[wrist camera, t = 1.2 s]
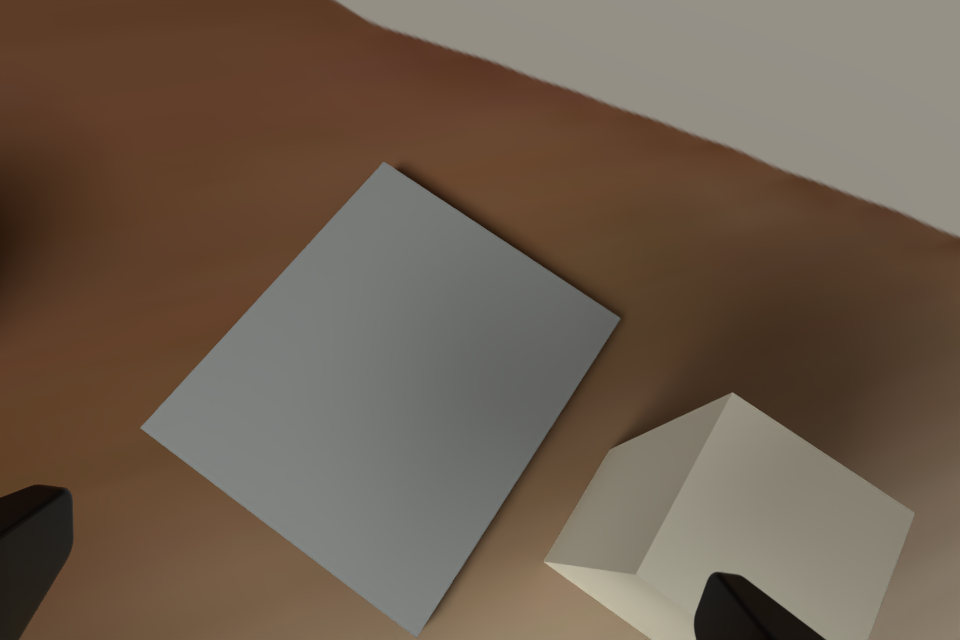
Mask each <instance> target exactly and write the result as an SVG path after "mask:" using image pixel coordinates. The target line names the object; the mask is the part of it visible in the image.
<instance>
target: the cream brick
mask: <svg viewBox="0 0 960 640" xmlns="http://www.w3.org/2000/svg"><path fill="white" fill-rule="evenodd" d="M914 515H915V513H914V512H913V511H911V510H910V509H908V508H907V507H905V506H904V505H902V504H901V503H899V502H898V501H896V500H895V499H893V498H892V497H890V496H889V495H887V494H885V493H884V492H882V491H881V490H879V489H878V488H876V487H875V486H873V485H872V484H870V483H869V482H867V481H866V480H864V479H863V478H861V477H860V476H858V475H857V474H855V473H854V472H852V471H851V470H849V469H848V468H846V467H845V466H843V465H842V464H840V463H839V462H837V461H836V460H834V459H833V458H831V457H829V456H828V455H826V454H825V453H823V452H822V451H820V450H819V449H817V448H816V447H814V446H813V445H811V444H810V443H808V442H807V441H805V440H804V439H802V438H801V437H799V436H798V435H796V434H795V433H793V432H792V431H790V430H789V429H787V428H786V427H784V426H783V425H781V424H780V423H778V422H777V421H775V420H774V419H772V418H770V417H769V416H767V415H766V414H764V413H763V412H761V411H760V410H758V409H757V408H755V407H754V406H752V405H751V404H749V403H748V402H746V401H745V400H743V399H742V398H740V397H739V396H737V395H736V394H734V393H733V392H732V393H730V394H728V395H726V396H723V397H721V398H719V399H717V400H715V401H713V402H711V403H708V404H706V405H704V406H702V407H700V408H698V409H696V410H693V411H691V412H689V413H687V414H685V415H683V416H681V417H678V418H676V419H674V420H672V421H670V422H668V423H665V424H663V425H661V426H659V427H657V428H655V429H653V430H650V431H648V432H646V433H644V434H642V435H640V436H638V437H635V438H633V439H631V440H629V441H627V442H625V443H623V444H620V445H618V446H616V447H614V448H612V449H610V450H609V451H608V453H607V454H606V456H605V458H604V460H603V461H602V463H601V465H600V466H599V468H598V470H597V471H596V473H595V475H594V476H593V478H592V480H591V482H590V483H589V485H588V487H587V488H586V490H585V492H584V493H583V495H582V497H581V498H580V500H579V502H578V504H577V505H576V507H575V509H574V510H573V512H572V514H571V515H570V517H569V519H568V520H567V522H566V524H565V525H564V527H563V529H562V531H561V532H560V534H559V536H558V537H557V539H556V541H555V542H554V544H553V546H552V547H551V549H550V551H549V553H548V554H547V556H546V558H545V559H544V561H543V562H545V563H546V564H547V565H549V566H550V567H552V568H553V569H554V570H556V571H557V572H558V573H560V574H561V575H563V576H564V577H565V578H567V579H568V580H569V581H571V582H572V583H574V584H575V585H576V586H578V587H579V588H581V589H582V590H583V591H585V592H586V593H587V594H589V595H590V596H592V597H593V598H594V599H596V600H597V601H599V602H600V603H601V604H603V605H604V606H605V607H607V608H608V609H610V610H611V611H612V612H614V613H615V614H616V615H618V616H619V617H621V618H622V619H623V620H625V621H626V622H628V623H629V624H630V625H632V626H633V627H634V628H636V629H637V630H639V631H640V632H641V633H643V634H644V635H646V636H647V637H648V638H650V639H651V640H696V637H695V632H694V616H695V612H696V610H697V607H698V604H699V601H700V599H701V596H702V593H703V590H704V588H705V585H706V582H707V580H708V578H709V576H710V575H711V574H712V573H714V572H725V573H733V574H739V575H741V576H743V577H745V578H746V579H747V580H749V581H750V582H751V583H753V584H754V585H755V586H756V587H758V588H759V589H760V590H762V591H763V592H764V593H766V594H767V595H768V596H770V597H771V598H772V599H774V600H775V601H776V602H777V603H779V604H780V605H781V606H783V607H784V608H785V609H787V610H788V611H789V612H791V613H792V614H793V615H795V616H796V617H797V618H798V619H800V620H801V621H802V622H804V623H805V624H806V625H808V626H809V627H810V628H812V629H813V630H814V631H816V632H817V633H818V634H819V635H821V636H822V637H823V638H825V639H826V640H868V638H869V636H870V633H871V630H872V628H873V625H874V622H875V620H876V617H877V614H878V612H879V609H880V606H881V604H882V601H883V598H884V595H885V593H886V590H887V587H888V585H889V582H890V579H891V577H892V574H893V571H894V569H895V566H896V563H897V561H898V558H899V555H900V553H901V550H902V547H903V545H904V542H905V539H906V537H907V534H908V531H909V529H910V526H911V523H912V521H913V518H914Z"/></svg>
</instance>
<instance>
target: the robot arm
mask: <svg viewBox="0 0 960 640" xmlns="http://www.w3.org/2000/svg"><path fill="white" fill-rule="evenodd" d="M72 545H73V499H72V494H71V492H70V491H69V490H68V489H66V488H63V487H56V486H48V485H33V486H30V487H27V488H25V489H22V490H19V491H17V492H14V493H12V494H9V495H6V496H4V497H1V498H0V640H19V639H20V637H21V635H22V634H23V632H24V630H25V629H26V627H27V625H28V624H29V622H30V620H31V619H32V617H33V615H34V614H35V612H36V610H37V609H38V607H39V605H40V604H41V602H42V600H43V599H44V597H45V595H46V594H47V592H48V590H49V589H50V587H51V585H52V584H53V582H54V580H55V579H56V577H57V575H58V574H59V572H60V570H61V569H62V567H63V565H64V564H65V562H66V560H67V558H68V557H69V554H70V552H71V549H72ZM694 632H695V637H696V640H826V639H825V638H823V637H822V636H821V635H819V634H818V633H817V632H816V631H814V630H813V629H812V628H810V627H809V626H808V625H806V624H805V623H804V622H802V621H801V620H800V619H798V618H797V617H796V616H795V615H793V614H792V613H791V612H789V611H788V610H787V609H785V608H784V607H783V606H781V605H780V604H779V603H777V602H776V601H775V600H774V599H772V598H771V597H770V596H768V595H767V594H766V593H764V592H763V591H762V590H760V589H759V588H758V587H756V586H755V585H754V584H753V583H751V582H750V581H749V580H747V579H746V578H745V577H743V576H741V575H739V574H733V573H725V572H714V573H712V574H711V575H710V576H709V578H708V580H707V582H706V585H705V588H704V590H703V593H702V596H701V599H700V601H699V604H698V607H697V610H696V612H695V616H694Z"/></svg>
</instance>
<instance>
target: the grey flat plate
mask: <svg viewBox="0 0 960 640" xmlns="http://www.w3.org/2000/svg"><path fill="white" fill-rule="evenodd" d="M620 319H621V318H620V317H618V316H617V315H615V314H614V313H612V312H611V311H609V310H608V309H606V308H605V307H603V306H601V305H600V304H598V303H597V302H595V301H594V300H592V299H591V298H589V297H588V296H586V295H585V294H583V293H582V292H580V291H579V290H577V289H576V288H574V287H573V286H571V285H570V284H568V283H567V282H565V281H564V280H562V279H561V278H559V277H558V276H556V275H555V274H553V273H552V272H550V271H549V270H547V269H546V268H544V267H542V266H541V265H539V264H538V263H536V262H535V261H533V260H532V259H530V258H529V257H527V256H526V255H524V254H523V253H521V252H520V251H518V250H517V249H515V248H514V247H512V246H511V245H509V244H508V243H506V242H505V241H503V240H502V239H500V238H499V237H497V236H496V235H494V234H493V233H491V232H490V231H488V230H486V229H485V228H483V227H482V226H480V225H479V224H477V223H476V222H474V221H473V220H471V219H470V218H468V217H467V216H465V215H464V214H462V213H461V212H459V211H458V210H456V209H455V208H453V207H452V206H450V205H449V204H447V203H446V202H444V201H443V200H441V199H440V198H438V197H437V196H435V195H434V194H432V193H431V192H429V191H427V190H426V189H424V188H423V187H421V186H420V185H418V184H417V183H415V182H414V181H412V180H411V179H409V178H408V177H406V176H405V175H403V174H402V173H400V172H399V171H397V170H396V169H394V168H393V167H391V166H390V165H388V164H387V163H385V162H383V163H382V164H381V166H380V167H379V168H378V169H377V170H376V171H375V172H374V173H373V174H372V175H371V176H370V178H369V179H368V180H367V181H366V182H365V183H364V184H363V185H362V186H361V187H360V188H359V190H358V191H357V192H356V193H355V194H354V195H353V196H352V197H351V198H350V199H349V200H348V202H347V203H346V204H345V205H344V206H343V207H342V208H341V209H340V210H339V211H338V213H337V214H336V215H335V216H334V217H333V218H332V219H331V220H330V221H329V222H328V223H327V225H326V226H325V227H324V228H323V229H322V230H321V231H320V232H319V233H318V234H317V235H316V237H315V238H314V239H313V240H312V241H311V242H310V243H309V244H308V245H307V246H306V247H305V249H304V250H303V251H302V252H301V253H300V254H299V255H298V256H297V257H296V258H295V259H294V261H293V262H292V263H291V264H290V265H289V266H288V267H287V268H286V269H285V270H284V272H283V273H282V274H281V275H280V276H279V277H278V278H277V279H276V280H275V281H274V282H273V284H272V285H271V286H270V287H269V288H268V289H267V290H266V291H265V292H264V293H263V294H262V296H261V297H260V298H259V299H258V300H257V301H256V302H255V303H254V304H253V305H252V306H251V308H250V309H249V310H248V311H247V312H246V313H245V314H244V315H243V316H242V317H241V319H240V320H239V321H238V322H237V323H236V324H235V325H234V326H233V327H232V328H231V329H230V331H229V332H228V333H227V334H226V335H225V336H224V337H223V338H222V339H221V340H220V341H219V343H218V344H217V345H216V346H215V347H214V348H213V349H212V350H211V351H210V352H209V353H208V355H207V356H206V357H205V358H204V359H203V360H202V361H201V362H200V363H199V364H198V366H197V367H196V368H195V369H194V370H193V371H192V372H191V373H190V374H189V375H188V376H187V378H186V379H185V380H184V381H183V382H182V383H181V384H180V385H179V386H178V387H177V388H176V390H175V391H174V392H173V393H172V394H171V395H170V396H169V397H168V398H167V399H166V400H165V402H164V403H163V404H162V405H161V406H160V407H159V408H158V409H157V410H156V411H155V412H154V414H153V415H152V416H151V417H150V418H149V419H148V420H147V421H146V422H145V423H144V425H143V426H142V427H141V429H142V430H144V431H145V432H146V433H148V434H149V435H150V436H152V437H153V438H154V439H155V440H157V441H158V442H159V443H161V444H162V445H163V446H165V447H166V448H167V449H169V450H170V451H171V452H173V453H174V454H175V455H177V456H178V457H179V458H180V459H182V460H183V461H184V462H186V463H187V464H188V465H190V466H191V467H192V468H194V469H195V470H196V471H198V472H199V473H200V474H202V475H203V476H204V477H205V478H207V479H208V480H209V481H211V482H212V483H213V484H215V485H216V486H217V487H219V488H220V489H221V490H223V491H224V492H225V493H227V494H228V495H229V496H230V497H232V498H233V499H234V500H236V501H237V502H238V503H240V504H241V505H242V506H244V507H245V508H246V509H248V510H249V511H250V512H251V513H253V514H254V515H255V516H257V517H258V518H259V519H261V520H262V521H263V522H265V523H266V524H267V525H269V526H270V527H271V528H273V529H274V530H275V531H276V532H278V533H279V534H280V535H282V536H283V537H284V538H286V539H287V540H288V541H290V542H291V543H292V544H294V545H295V546H296V547H298V548H299V549H300V550H301V551H303V552H304V553H305V554H307V555H308V556H309V557H311V558H312V559H313V560H315V561H316V562H317V563H319V564H320V565H321V566H323V567H324V568H325V569H326V570H328V571H329V572H330V573H332V574H333V575H334V576H336V577H337V578H338V579H340V580H341V581H342V582H344V583H345V584H346V585H348V586H349V587H350V588H351V589H353V590H354V591H355V592H357V593H358V594H359V595H361V596H362V597H363V598H365V599H366V600H367V601H369V602H370V603H371V604H373V605H374V606H375V607H376V608H378V609H379V610H380V611H382V612H383V613H384V614H386V615H387V616H388V617H390V618H391V619H392V620H394V621H395V622H396V623H398V624H399V625H400V626H401V627H403V628H404V629H405V630H407V631H408V632H409V633H411V634H412V635H413V636H415V637H416V638H417V636H418V635H419V633H420V632H421V630H422V628H423V627H424V625H425V624H426V622H427V621H428V619H429V618H430V616H431V614H432V613H433V611H434V610H435V608H436V607H437V605H438V603H439V602H440V600H441V599H442V597H443V596H444V594H445V592H446V591H447V589H448V588H449V586H450V585H451V583H452V582H453V580H454V578H455V577H456V575H457V574H458V572H459V571H460V569H461V567H462V566H463V564H464V563H465V561H466V560H467V558H468V557H469V555H470V553H471V552H472V550H473V549H474V547H475V546H476V544H477V542H478V541H479V539H480V538H481V536H482V535H483V533H484V531H485V530H486V528H487V527H488V525H489V524H490V522H491V521H492V519H493V517H494V516H495V514H496V513H497V511H498V510H499V508H500V506H501V505H502V503H503V502H504V500H505V499H506V497H507V496H508V494H509V492H510V491H511V489H512V488H513V486H514V485H515V483H516V481H517V480H518V478H519V477H520V475H521V474H522V472H523V470H524V469H525V467H526V466H527V464H528V463H529V461H530V460H531V458H532V456H533V455H534V453H535V452H536V450H537V449H538V447H539V445H540V444H541V442H542V441H543V439H544V438H545V436H546V435H547V433H548V431H549V430H550V428H551V427H552V425H553V424H554V422H555V420H556V419H557V417H558V416H559V414H560V413H561V411H562V409H563V408H564V406H565V405H566V403H567V402H568V400H569V399H570V397H571V395H572V394H573V392H574V391H575V389H576V388H577V386H578V384H579V383H580V381H581V380H582V378H583V377H584V375H585V373H586V372H587V370H588V369H589V367H590V366H591V364H592V363H593V361H594V359H595V358H596V356H597V355H598V353H599V352H600V350H601V348H602V347H603V345H604V344H605V342H606V341H607V339H608V338H609V336H610V334H611V333H612V331H613V330H614V328H615V327H616V325H617V323H618V322H619V320H620Z"/></svg>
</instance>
